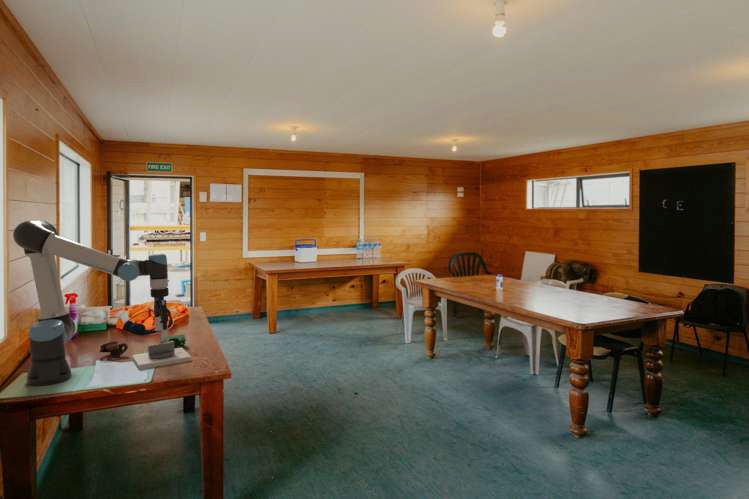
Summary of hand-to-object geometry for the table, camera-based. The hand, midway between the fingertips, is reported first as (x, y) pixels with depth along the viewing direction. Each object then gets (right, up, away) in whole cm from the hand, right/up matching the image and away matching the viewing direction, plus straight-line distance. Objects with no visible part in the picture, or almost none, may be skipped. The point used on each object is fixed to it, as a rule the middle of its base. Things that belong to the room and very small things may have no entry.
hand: (161, 333), depth 221 cm
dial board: (0, -12, +1) cm, 12 cm away
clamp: (-3, -11, +21) cm, 24 cm away
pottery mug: (-25, -12, +6) cm, 29 cm away
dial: (0, -10, +1) cm, 10 cm away
